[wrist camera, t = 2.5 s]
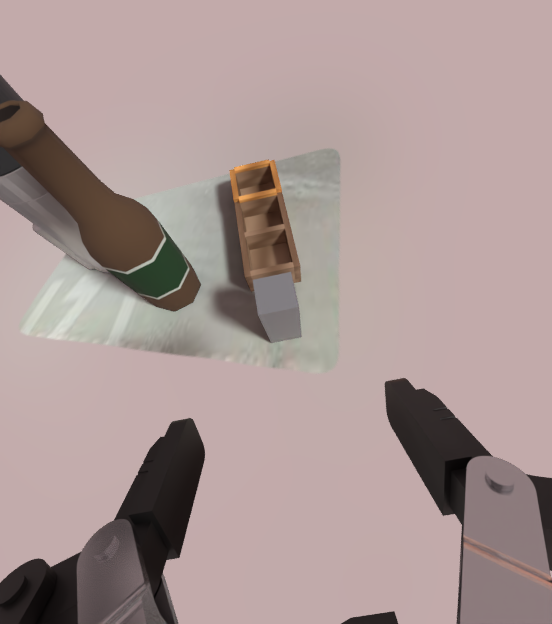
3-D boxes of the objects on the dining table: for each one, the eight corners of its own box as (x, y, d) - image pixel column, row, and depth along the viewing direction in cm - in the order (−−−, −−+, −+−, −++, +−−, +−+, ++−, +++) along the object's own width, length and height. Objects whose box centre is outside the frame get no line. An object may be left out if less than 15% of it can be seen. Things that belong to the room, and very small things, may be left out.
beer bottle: (154, 270, 40) (-30, 89, 18) (203, 263, 40) (72, 67, 18) (149, 316, 37) (-81, 164, 15) (201, 309, 37) (41, 140, 15)
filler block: (271, 343, 33) (258, 315, 25) (266, 315, 35) (252, 279, 26) (301, 336, 33) (299, 306, 25) (295, 309, 35) (291, 271, 26)
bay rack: (251, 291, 37) (243, 275, 33) (236, 189, 45) (228, 166, 41) (301, 281, 36) (299, 263, 32) (276, 180, 45) (273, 155, 41)
